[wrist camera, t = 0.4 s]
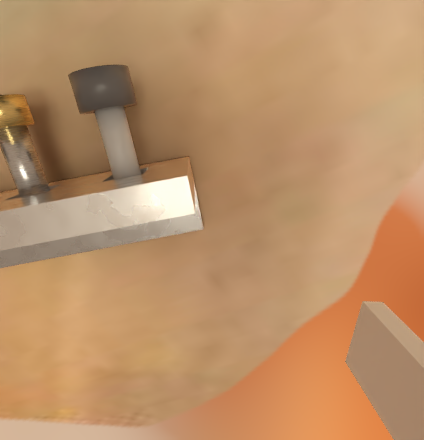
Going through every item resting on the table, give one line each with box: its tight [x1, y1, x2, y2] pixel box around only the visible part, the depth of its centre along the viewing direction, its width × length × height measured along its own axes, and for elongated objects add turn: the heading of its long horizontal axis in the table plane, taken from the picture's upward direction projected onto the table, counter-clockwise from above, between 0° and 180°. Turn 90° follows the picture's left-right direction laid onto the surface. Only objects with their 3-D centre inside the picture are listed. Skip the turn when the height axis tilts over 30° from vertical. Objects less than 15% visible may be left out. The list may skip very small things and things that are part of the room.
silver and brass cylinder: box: [0, 94, 50, 197], centre depth 28 cm, size 11×4×4 cm, turn 10°
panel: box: [0, 156, 203, 268], centre depth 29 cm, size 8×30×12 cm, turn 100°
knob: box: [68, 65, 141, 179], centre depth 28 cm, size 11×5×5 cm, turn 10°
